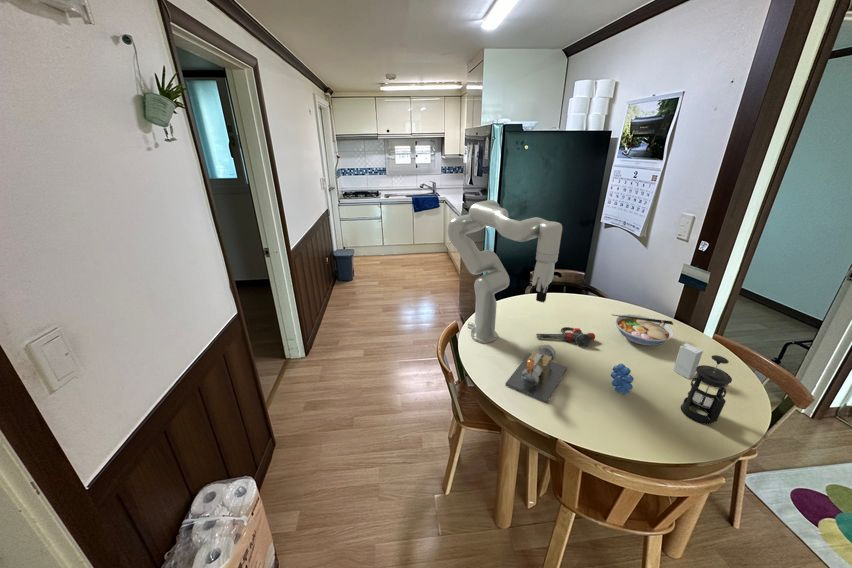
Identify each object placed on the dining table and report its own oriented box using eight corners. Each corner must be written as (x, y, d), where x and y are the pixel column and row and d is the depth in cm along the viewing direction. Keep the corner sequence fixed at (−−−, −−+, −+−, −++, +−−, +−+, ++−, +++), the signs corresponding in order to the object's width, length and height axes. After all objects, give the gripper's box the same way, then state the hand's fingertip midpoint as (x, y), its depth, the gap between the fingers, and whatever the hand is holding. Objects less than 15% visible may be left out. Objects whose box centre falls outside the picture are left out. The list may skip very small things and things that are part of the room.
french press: (673, 401, 118) (693, 347, 109) (700, 402, 118) (723, 348, 108) (695, 428, 108) (719, 371, 98) (726, 429, 107) (753, 371, 98)
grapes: (638, 403, 118) (647, 376, 113) (619, 403, 118) (626, 376, 113) (622, 381, 128) (629, 355, 124) (604, 381, 129) (610, 355, 124)
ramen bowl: (611, 347, 149) (615, 332, 145) (607, 323, 168) (610, 309, 165) (678, 360, 140) (684, 343, 137) (665, 332, 159) (670, 317, 156)
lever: (537, 352, 129) (539, 341, 127) (545, 354, 128) (546, 344, 126) (524, 372, 118) (525, 361, 116) (532, 375, 117) (533, 364, 115)
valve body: (505, 385, 127) (507, 364, 123) (528, 354, 145) (531, 335, 141) (546, 403, 118) (550, 381, 114) (566, 368, 136) (570, 348, 132)
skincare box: (694, 376, 130) (704, 350, 125) (688, 379, 129) (698, 353, 124) (678, 367, 136) (687, 342, 131) (671, 370, 134) (680, 345, 129)
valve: (587, 334, 163) (598, 348, 149) (533, 333, 167) (538, 346, 152) (588, 322, 161) (599, 335, 147) (533, 321, 165) (539, 333, 151)
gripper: (543, 249, 128) (538, 291, 136) (529, 259, 118) (523, 305, 125) (563, 252, 124) (556, 296, 132) (550, 264, 113) (543, 311, 121)
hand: (540, 300), depth 128 cm, fingers closed
